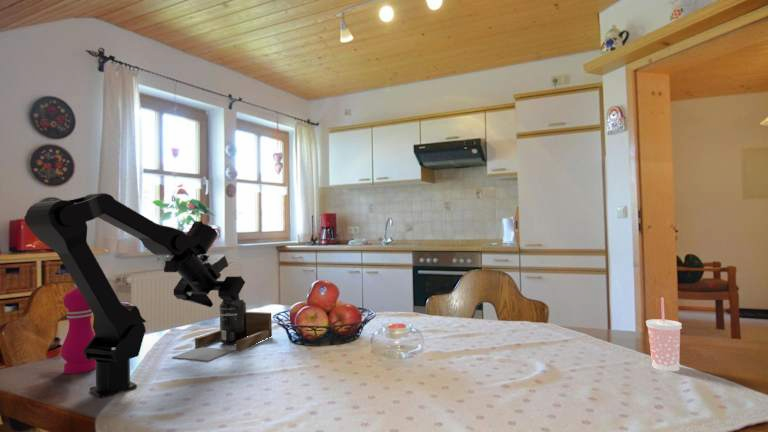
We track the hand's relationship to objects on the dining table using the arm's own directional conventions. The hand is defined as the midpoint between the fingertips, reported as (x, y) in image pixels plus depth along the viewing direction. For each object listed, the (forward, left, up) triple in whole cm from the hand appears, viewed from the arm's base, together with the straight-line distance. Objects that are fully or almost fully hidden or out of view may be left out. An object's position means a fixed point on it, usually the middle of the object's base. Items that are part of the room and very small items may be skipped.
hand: (225, 306), depth 116 cm
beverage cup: (-93, -43, -11) cm, 103 cm away
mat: (-3, +8, -10) cm, 13 cm away
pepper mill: (+10, +30, -11) cm, 34 cm away
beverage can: (+1, -3, -11) cm, 11 cm away
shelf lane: (+1, -3, -10) cm, 11 cm away
